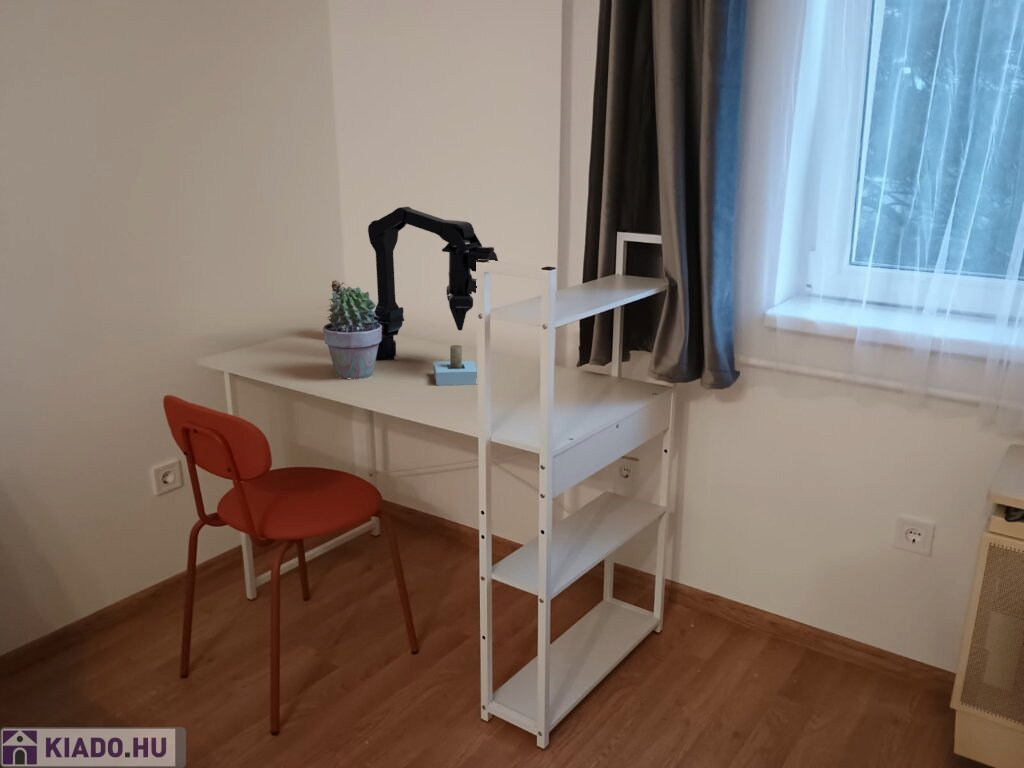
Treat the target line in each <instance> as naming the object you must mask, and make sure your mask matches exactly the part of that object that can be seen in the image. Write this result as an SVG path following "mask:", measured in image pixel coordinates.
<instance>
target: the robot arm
mask: <svg viewBox="0 0 1024 768" xmlns="http://www.w3.org/2000/svg"><path fill="white" fill-rule="evenodd" d="M407 225H409V226H412V227H415V228H419V229H420V230H424V231H427V232H430V233H433V234H434V235H435V234H436V235H437V236H438V237H439V238H441V240H442V241H445V242H447V244H446V245H445V247H443V248H442V249H441V251H442V252H444V253H448V285H447V286H446V293H445V294H446V299H447V301H448V305H449V306H448V308H449V311H450V312H451V315H452V318H453V320H454V323H455V325H456V329H457V330H458V331H463V328H464V323H465V320H466V316H467V313H468V312H469V311H470V310H472V309H473V307H474V298H473V296H472V294H476V288H477V286H476V280H477V278H473V276H472V273H471V271H472V272H476V260H478V259H489V260H495V261H498V262H499V259H498V256H497V253H496V252H495V247H493V246H488V247H487V246H483V245H482V243H481V241H480V240H479V238H478V237H477V234H476V233H475V229H474V227H473V225H472V223H470V222H469V221H462V220H452V219H451V220H449V219H443V218H441V217H438V216H435V215H431V214H429V213H425V212H422V211H419V210H418V209H417V210H416V209H413V208H411V207H410V206H400V207H397V208H396V209H394V210H393V211H392V212H390V213H388V214H387V215H384V216H382V217H380V218H379V219H376V220H372V221H371V222H370V223H369V225H368V226H367V234H368V239H369V243H370V244H371V246H372V248H373V250H374V252H375V264H376V267H375V269H376V288H377V305H376V306H378V307H376V306H375V309H376V310H375V309H374V310H373V311H374V312H375V314H376V316H378V317H374V319H375V320H378V323H379V324H381V326H383V327H384V328H383V327H382V339H381V342H380V343H379V346H378V351H377V355H376V360H375V361H378V360H379V361H381V360H382V361H383V360H385V361H386V360H388V361H389V360H390V361H391V360H395V357H396V356H397V341H396V340H395V339H394V336H398V334H399V331H400V329H401V328H402V327H403V322H405V319H404V307H403V306H401V307H399V305H398V303H397V302H396V286H395V285H396V281H395V265H394V264H395V263H394V261H395V260H394V251H395V247H396V245H397V243H398V239H399V232H400V231H401V230H403V229H404V228H405V227H406V226H407ZM476 273H477V272H476ZM382 303H383V304H382ZM380 307H381V308H380ZM379 317H380V318H379ZM384 322H385V323H384ZM389 323H390V324H389Z"/></svg>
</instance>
